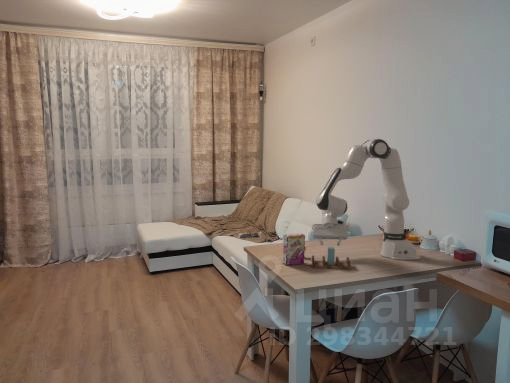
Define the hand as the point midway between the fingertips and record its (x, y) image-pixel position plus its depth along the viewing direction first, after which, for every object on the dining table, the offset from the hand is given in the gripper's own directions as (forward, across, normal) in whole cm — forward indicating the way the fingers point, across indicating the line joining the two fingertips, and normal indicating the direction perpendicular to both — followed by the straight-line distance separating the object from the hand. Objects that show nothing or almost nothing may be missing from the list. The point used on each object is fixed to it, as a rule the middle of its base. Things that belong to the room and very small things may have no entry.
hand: (330, 244), depth 234 cm
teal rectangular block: (+13, 0, -3) cm, 14 cm away
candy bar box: (+14, -20, -1) cm, 25 cm away
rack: (+14, 0, -2) cm, 14 cm away
